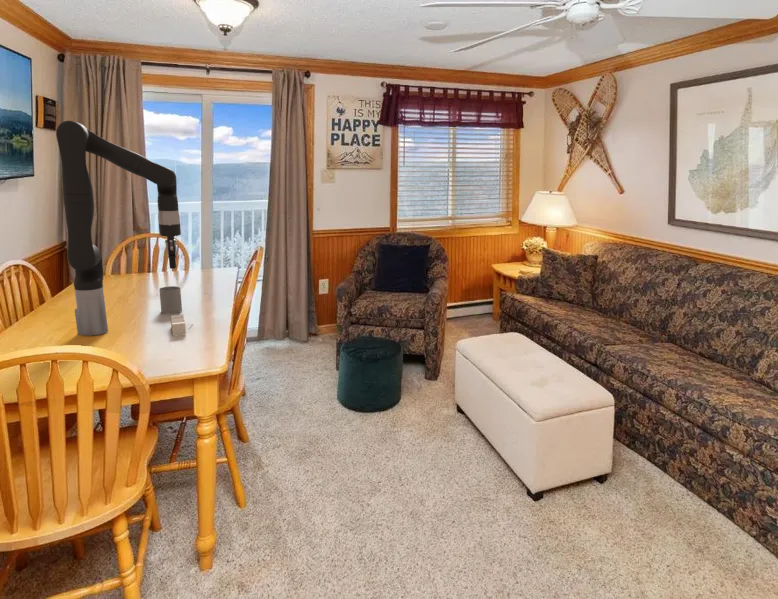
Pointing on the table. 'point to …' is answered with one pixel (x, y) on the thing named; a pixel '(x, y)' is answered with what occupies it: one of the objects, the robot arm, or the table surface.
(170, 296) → the cup
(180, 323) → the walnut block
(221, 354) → the table surface
